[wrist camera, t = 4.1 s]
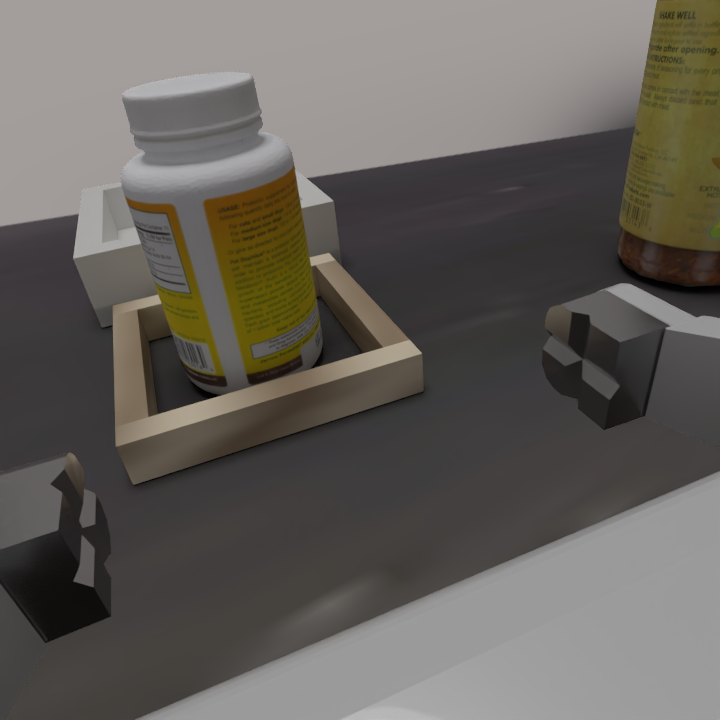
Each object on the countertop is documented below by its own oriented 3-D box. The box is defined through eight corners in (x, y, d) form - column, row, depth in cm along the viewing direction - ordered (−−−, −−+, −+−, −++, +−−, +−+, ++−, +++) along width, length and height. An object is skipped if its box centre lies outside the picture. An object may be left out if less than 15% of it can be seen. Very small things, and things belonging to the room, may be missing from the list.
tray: (101, 327, 26) (73, 258, 24) (102, 243, 36) (82, 188, 34) (341, 267, 29) (333, 201, 27) (284, 204, 39) (274, 151, 37)
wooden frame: (133, 484, 17) (115, 446, 17) (124, 336, 25) (112, 305, 24) (423, 391, 20) (422, 353, 19) (333, 282, 28) (329, 252, 27)
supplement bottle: (335, 324, 24) (297, 61, 19) (310, 404, 20) (250, 89, 14) (213, 327, 25) (143, 76, 20) (163, 404, 21) (52, 107, 15)
